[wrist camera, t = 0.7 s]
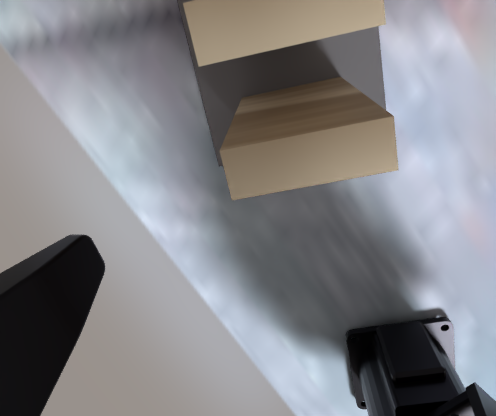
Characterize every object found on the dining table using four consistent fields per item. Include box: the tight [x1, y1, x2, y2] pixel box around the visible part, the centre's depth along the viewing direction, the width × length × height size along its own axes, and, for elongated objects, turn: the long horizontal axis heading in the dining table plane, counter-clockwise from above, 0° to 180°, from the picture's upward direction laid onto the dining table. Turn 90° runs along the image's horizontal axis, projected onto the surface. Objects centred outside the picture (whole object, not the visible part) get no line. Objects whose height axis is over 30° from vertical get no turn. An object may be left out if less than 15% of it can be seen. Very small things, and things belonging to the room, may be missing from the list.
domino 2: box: [220, 77, 398, 200], centre depth 17 cm, size 2×5×10 cm, turn 102°
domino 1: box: [183, 0, 386, 67], centre depth 16 cm, size 2×5×10 cm, turn 102°
